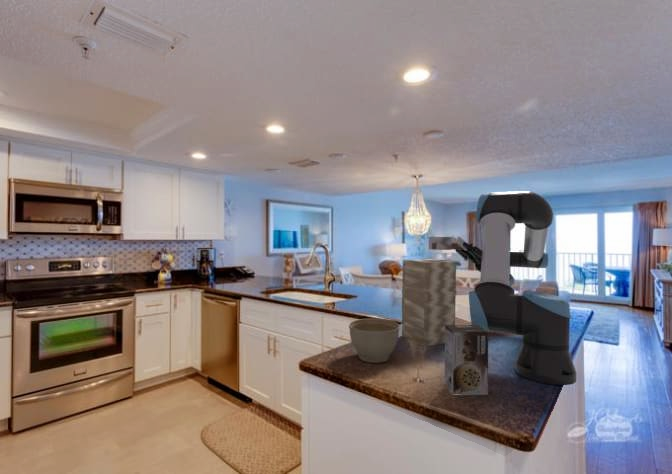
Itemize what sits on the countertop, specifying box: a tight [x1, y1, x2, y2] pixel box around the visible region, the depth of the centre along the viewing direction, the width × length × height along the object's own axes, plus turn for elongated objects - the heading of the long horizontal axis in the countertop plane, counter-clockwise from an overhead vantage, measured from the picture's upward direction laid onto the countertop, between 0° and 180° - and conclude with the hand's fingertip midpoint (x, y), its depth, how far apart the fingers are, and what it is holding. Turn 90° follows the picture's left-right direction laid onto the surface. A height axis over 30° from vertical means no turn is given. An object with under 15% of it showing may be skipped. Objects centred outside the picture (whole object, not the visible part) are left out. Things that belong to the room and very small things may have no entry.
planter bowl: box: [348, 318, 401, 364], centre depth 111 cm, size 16×16×11 cm
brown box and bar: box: [428, 236, 474, 251], centre depth 139 cm, size 20×6×5 cm, turn 118°
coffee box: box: [444, 324, 489, 396], centre depth 89 cm, size 9×6×16 cm
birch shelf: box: [401, 258, 461, 347], centre depth 133 cm, size 16×14×30 cm
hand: (454, 239), depth 139 cm, fingers closed on brown box and bar, 3 cm apart
